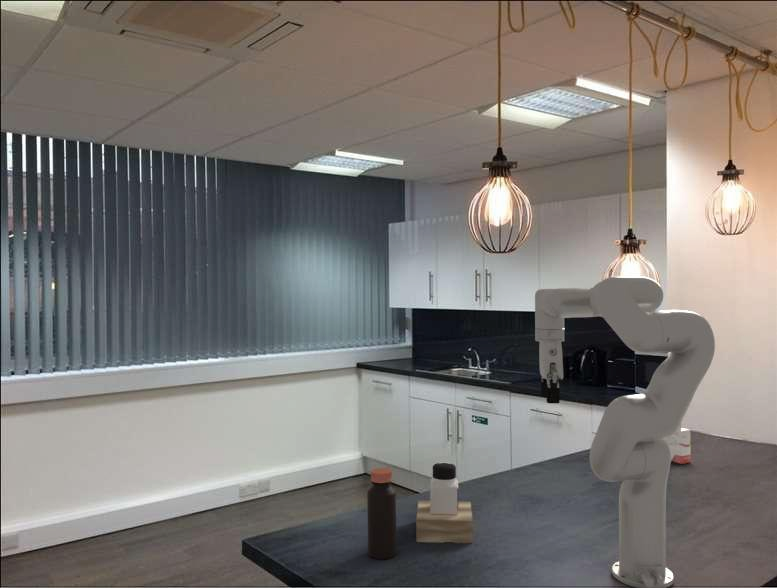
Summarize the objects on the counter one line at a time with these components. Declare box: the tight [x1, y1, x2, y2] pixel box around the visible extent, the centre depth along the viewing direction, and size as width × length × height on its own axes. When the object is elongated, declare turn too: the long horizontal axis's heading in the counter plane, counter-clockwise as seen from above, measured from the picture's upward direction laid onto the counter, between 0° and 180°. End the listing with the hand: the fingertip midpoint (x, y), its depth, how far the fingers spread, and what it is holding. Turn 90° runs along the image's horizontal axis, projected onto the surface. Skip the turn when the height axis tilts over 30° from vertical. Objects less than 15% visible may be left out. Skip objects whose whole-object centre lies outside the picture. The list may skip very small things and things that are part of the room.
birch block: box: [415, 500, 474, 544], centre depth 168 cm, size 14×14×6 cm
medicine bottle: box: [429, 461, 459, 515], centre depth 168 cm, size 7×7×12 cm
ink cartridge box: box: [663, 423, 692, 465], centre depth 231 cm, size 9×5×15 cm, turn 25°
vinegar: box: [366, 467, 397, 560], centre depth 155 cm, size 7×7×20 cm
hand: (550, 399), depth 172 cm, fingers open, 9 cm apart
